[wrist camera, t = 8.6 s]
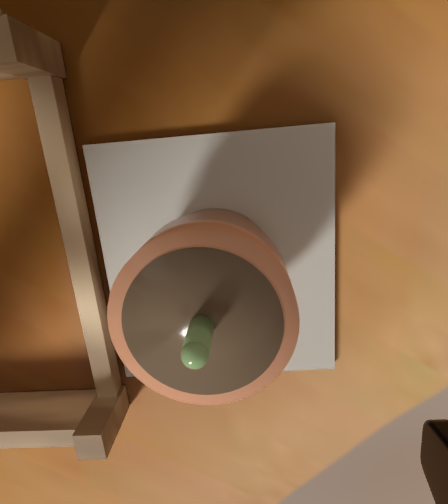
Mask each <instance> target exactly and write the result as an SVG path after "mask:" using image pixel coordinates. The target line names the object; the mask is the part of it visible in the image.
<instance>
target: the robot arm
mask: <svg viewBox="0 0 448 504" xmlns="http://www.w3.org/2000/svg"><path fill="white" fill-rule="evenodd" d="M421 464H422V468H423V471H424V474H425V476H426V479H427V482H428V484H429V487H430V490H431V492H432V495H433V497H434V500H435V503H436V504H448V420H445V419H443V420H427V421H425V423H424V425H423V432H422V443H421Z"/></svg>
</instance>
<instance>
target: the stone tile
mask: <svg viewBox="0 0 448 504" xmlns="http://www.w3.org/2000/svg"><path fill="white" fill-rule="evenodd" d="M82 146H83V152H84V157H85V162H86V167H87V173H88V178H89V183H90V189H91V194H92V199H93V204H94V210H95V215H96V220H97V226H98V231H99V236H100V241H101V247H102V252H103V257H104V263H105V268H106V273H107V278H108V284H109V289H110V292H111V289H112V285H113V283H114V281H115V279H116V277H117V275H118V273H119V272H120V270H121V269H122V268H123V266H124V265H125V264H126V262H127V261H128V260H129V259H130V258H131V257H132V256H133V255H134V254H135V253H136V252H137V251H138V250H139V249H140V248H141V247H142V246H143V245H144V244H145V243H146V242H147V241H148V240H149V239H150V238H151V237H152V236H153V235H154V234H155V233H156V232H157V231H158V230H159V229H160V228H162V227H163V226H164V225H166V224H168V223H169V222H171V221H173V220H175V219H177V218H180V217H182V216H185V215H189V214H192V213H194V212H196V211H200V210H203V209H210V208H221V209H228V210H232V211H235V212H238V213H240V214H242V215H244V216H246V217H248V218H249V219H250V220H252V221H253V222H254V223H255V224H256V225H257V226H258V227H259V228H260V229H261V230H262V231H263V232H264V233H265V234H266V235H267V236H268V237H269V238H270V239H271V240H272V242H273V243H274V244H275V245H276V247H277V248H278V250H279V252H280V253H281V255H282V257H283V260H284V262H285V265H286V268H287V271H288V274H289V277H290V280H291V284H292V287H293V290H294V293H295V296H296V300H297V304H298V308H299V318H300V325H299V335H298V340H297V344H296V347H295V350H294V353H293V355H292V357H291V359H290V361H289V363H288V364H287V366H286V367H285V368H284V370H283V371H291V370H316V369H335V122H332V123H321V124H310V125H299V126H288V127H277V128H266V129H255V130H244V131H233V132H222V133H211V134H200V135H189V136H178V137H167V138H156V139H145V140H134V141H123V142H112V143H101V144H90V145H82ZM124 368H125V373H126V377H135V376H134V375H133V374H132V373H131V372H130V371H129V370H128V368H127V367H126V366H125V364H124Z"/></svg>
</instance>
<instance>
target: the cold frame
mask: <svg viewBox="0 0 448 504" xmlns="http://www.w3.org/2000/svg"><path fill="white" fill-rule="evenodd" d="M17 78H24V79H28V84H29V88H30V93H31V97H32V102H33V107H34V111H35V116H36V120H37V125H38V129H39V134H40V138H41V143H42V147H43V152H44V157H45V161H46V166H47V170H48V175H49V179H50V184H51V188H52V193H53V197H54V202H55V207H56V211H57V216H58V220H59V225H60V229H61V234H62V238H63V243H64V247H65V252H66V257H67V261H68V266H69V270H70V275H71V279H72V284H73V288H74V293H75V297H76V302H77V307H78V311H79V316H80V320H81V325H82V329H83V334H84V338H85V343H86V347H87V352H88V357H89V361H90V366H91V370H92V375H93V379H94V384H95V388H96V389H90V390H63V391H36V392H9V393H0V448H35V447H75V450H76V454H77V458H78V460H92V459H107V457H108V455H109V452H110V450H111V448H112V445H113V443H114V441H115V438H116V436H117V434H118V431H119V429H120V427H121V425H122V422H123V420H124V418H125V415H126V413H127V411H128V408H129V401H128V396H127V390H126V385H122V383H121V378H120V372H119V367H118V362H117V357H116V352H115V347H114V345H113V343H112V340H111V336H110V333H109V329H108V321H107V306H106V301H105V295H104V290H103V285H102V280H101V275H100V270H99V265H98V259H97V254H96V249H95V244H94V239H93V234H92V229H91V224H90V218H89V213H88V208H87V203H86V198H85V193H84V188H83V182H82V177H81V172H80V167H79V162H78V157H77V152H76V147H75V141H74V136H73V131H72V126H71V121H70V116H69V111H68V105H67V100H66V95H65V90H64V85H63V80H62V79H66V78H67V77H66V72H65V67H64V61H63V56H62V51H61V46H60V42H59V41H57V40H55V39H53V38H51V37H49V36H47V35H45V34H44V33H42V32H40V31H38V30H36V29H34V28H32V27H30V26H28V25H26V24H25V23H23V22H21V21H19V20H17V19H15V18H13V17H11V16H9V15H7V14H2V15H0V80H8V79H17Z"/></svg>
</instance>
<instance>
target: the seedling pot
mask: <svg viewBox="0 0 448 504" xmlns="http://www.w3.org/2000/svg"><path fill="white" fill-rule="evenodd" d="M107 321H108V329H109V333H110V336H111V340H112V343H113V345H114V347H115V350H116V352H117V353H118V355H119V357H120V359H121V360H122V362H123V363H124V364H125V366H126V367H127V368H128V370H129V371H130V372H131V373H132V374H133V375H134V376H135V377H136V378H137V379H139V380H140V381H141V382H142V383H143V384H145V385H146V386H148V387H149V388H151V389H152V390H154V391H155V392H157V393H159V394H161V395H163V396H165V397H168V398H171V399H174V400H176V401H180V402H184V403H189V404H196V405H220V404H227V403H232V402H236V401H239V400H242V399H245V398H247V397H249V396H251V395H254V394H256V393H257V392H259V391H261V390H262V389H264V388H265V387H267V386H268V385H269V384H270V383H271V382H273V381H274V380H275V379H276V378H277V377H278V376H279V375H280V374H281V372H282V371H283V370H284V368H285V367H286V366H287V364H288V363H289V361H290V359H291V357H292V355H293V353H294V350H295V347H296V344H297V340H298V335H299V325H300V318H299V308H298V304H297V300H296V296H295V293H294V290H293V287H292V284H291V280H290V277H289V274H288V271H287V268H286V265H285V262H284V260H283V257H282V255H281V253H280V252H279V250H278V248H277V247H276V245H275V244H274V243H273V242H272V240H271V239H270V238H269V237H268V236H267V235H266V234H265V233H264V232H263V231H262V230H261V229H260V228H259V227H258V226H257V225H256V224H255V223H254V222H253V221H252V220H250V219H249V218H248V217H246V216H244V215H242V214H240V213H238V212H235V211H232V210H228V209H221V208H210V209H203V210H200V211H196V212H194V213H192V214H189V215H185V216H182V217H180V218H177V219H175V220H173V221H171V222H169V223H168V224H166V225H164V226H163V227H162V228H160V229H159V230H158V231H157V232H156V233H155V234H154V235H153V236H152V237H151V238H150V239H149V240H148V241H147V242H146V243H145V244H144V245H143V246H142V247H141V248H140V249H139V250H138V251H137V252H136V253H135V254H134V255H133V256H132V257H131V258H130V259H129V260H128V261H127V262H126V264H125V265H124V266H123V268H122V269H121V270H120V272H119V273H118V275H117V277H116V279H115V281H114V283H113V285H112V289H111V292H110V295H109V300H108V306H107Z"/></svg>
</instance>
